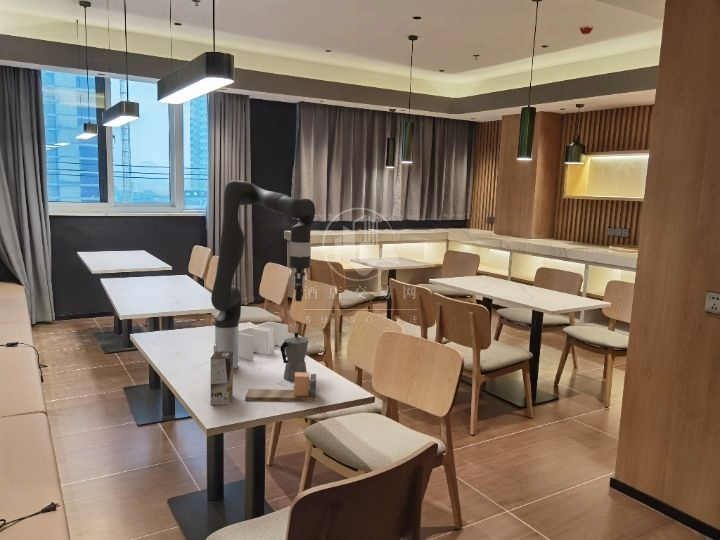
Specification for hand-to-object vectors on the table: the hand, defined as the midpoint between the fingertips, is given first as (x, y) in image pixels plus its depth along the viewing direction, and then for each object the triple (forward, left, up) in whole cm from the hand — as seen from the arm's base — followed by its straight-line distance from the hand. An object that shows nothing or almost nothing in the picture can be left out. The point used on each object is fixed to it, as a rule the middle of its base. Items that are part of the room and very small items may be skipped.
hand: (299, 298), depth 210 cm
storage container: (-19, +45, -34) cm, 59 cm away
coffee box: (-25, -15, -33) cm, 44 cm away
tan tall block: (+2, -11, -32) cm, 34 cm away
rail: (-5, -11, -33) cm, 35 cm away
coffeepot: (-2, +9, -33) cm, 35 cm away
